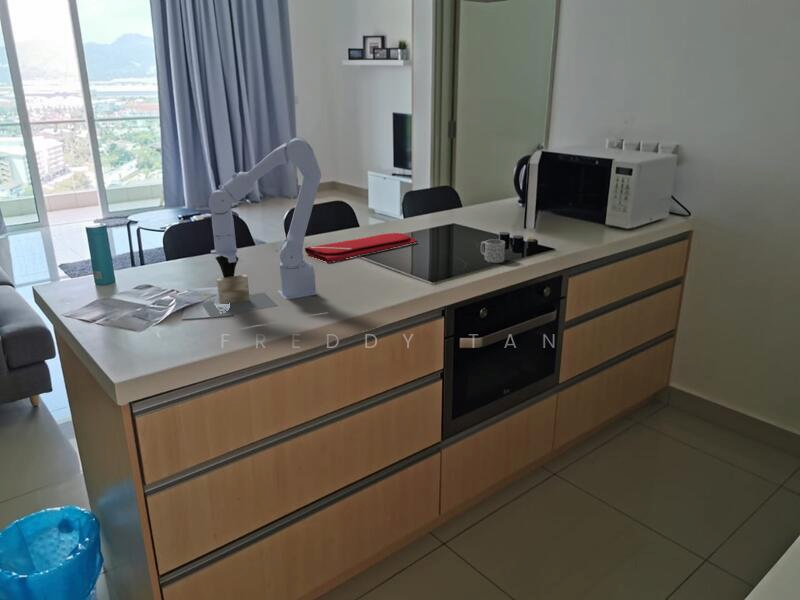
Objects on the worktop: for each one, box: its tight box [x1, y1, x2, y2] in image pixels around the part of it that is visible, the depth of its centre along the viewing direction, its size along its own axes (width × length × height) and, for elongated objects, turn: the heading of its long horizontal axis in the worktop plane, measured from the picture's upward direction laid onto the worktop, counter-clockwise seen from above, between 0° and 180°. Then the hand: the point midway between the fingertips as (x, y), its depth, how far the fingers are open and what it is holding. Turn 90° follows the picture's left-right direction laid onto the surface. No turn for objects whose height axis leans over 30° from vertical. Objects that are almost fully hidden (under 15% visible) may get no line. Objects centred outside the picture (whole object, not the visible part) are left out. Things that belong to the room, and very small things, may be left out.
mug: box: [480, 238, 506, 264], centre depth 207 cm, size 10×7×7 cm, turn 37°
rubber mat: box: [201, 292, 279, 319], centre depth 166 cm, size 18×13×1 cm
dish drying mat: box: [304, 232, 418, 264], centre depth 222 cm, size 16×41×4 cm, turn 130°
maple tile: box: [216, 274, 250, 304], centre depth 167 cm, size 8×2×7 cm, turn 118°
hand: (229, 281), depth 170 cm, fingers closed
